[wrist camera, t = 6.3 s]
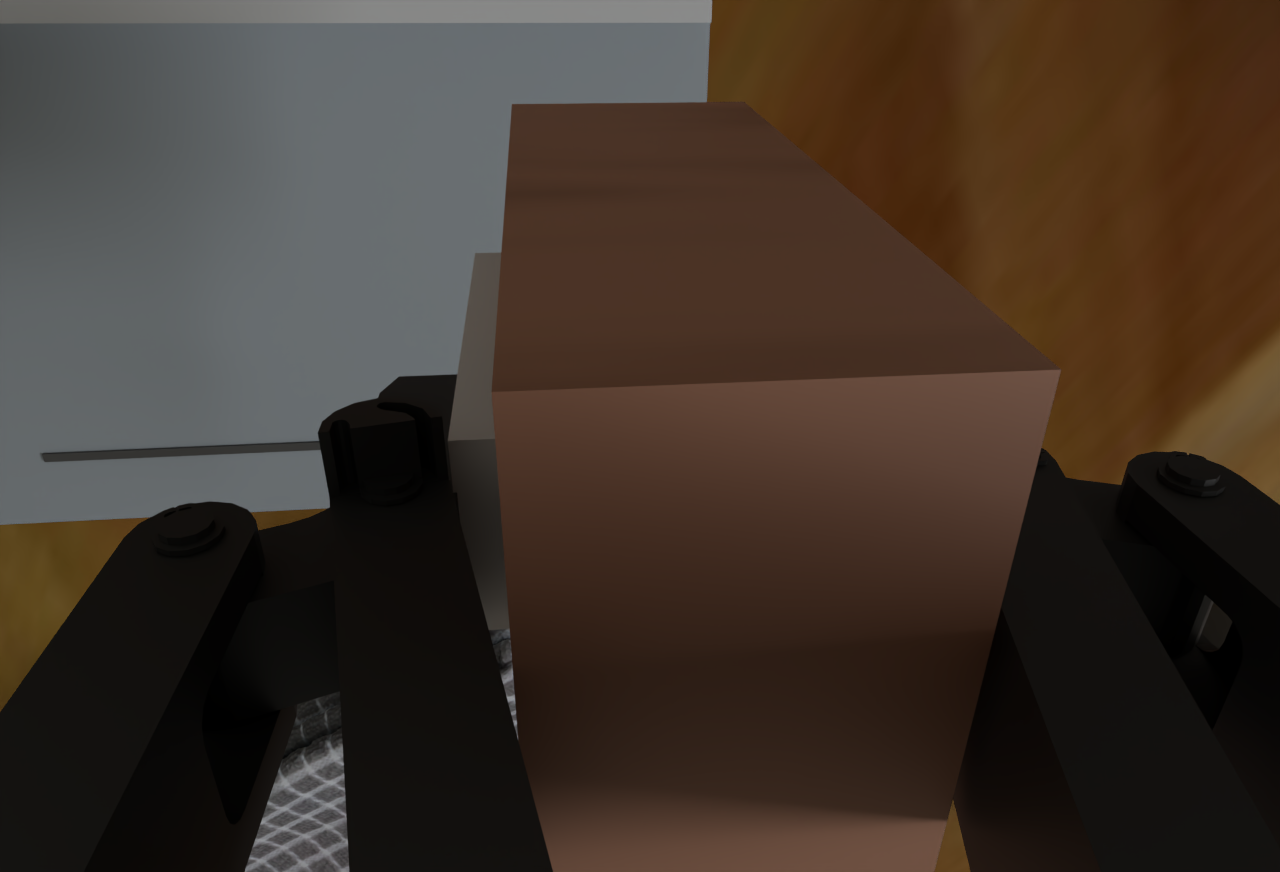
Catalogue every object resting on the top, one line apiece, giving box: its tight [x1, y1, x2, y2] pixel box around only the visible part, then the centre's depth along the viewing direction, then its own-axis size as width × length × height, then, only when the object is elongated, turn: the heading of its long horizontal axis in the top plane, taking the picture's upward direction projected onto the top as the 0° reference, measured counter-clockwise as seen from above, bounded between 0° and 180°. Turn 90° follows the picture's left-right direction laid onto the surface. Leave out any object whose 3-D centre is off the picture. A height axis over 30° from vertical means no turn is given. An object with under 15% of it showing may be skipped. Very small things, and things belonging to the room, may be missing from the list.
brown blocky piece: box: [491, 102, 1061, 872], centre depth 15 cm, size 14×4×11 cm, turn 179°
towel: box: [245, 629, 518, 872], centre depth 39 cm, size 15×18×8 cm
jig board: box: [0, 0, 712, 525], centre depth 29 cm, size 18×26×6 cm
